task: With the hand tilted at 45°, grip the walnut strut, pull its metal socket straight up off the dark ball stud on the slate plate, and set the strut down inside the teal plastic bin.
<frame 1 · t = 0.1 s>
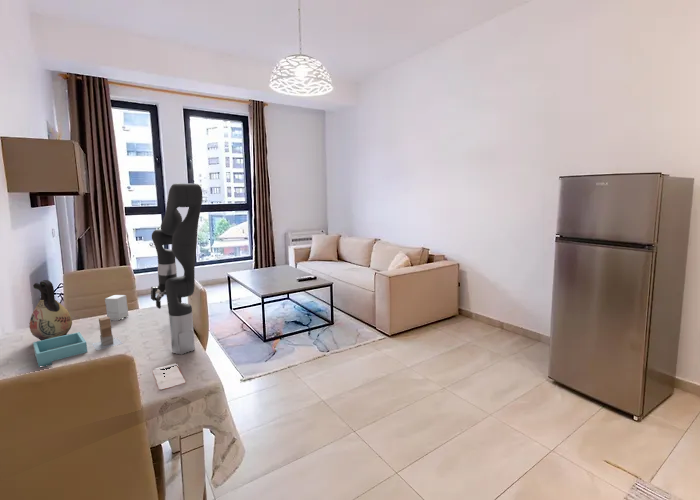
hand: (169, 306, 164), 17 cm above the table, tool pointing down, fingers open, 8 cm apart
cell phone: (168, 378, 134), on the table
teal bin: (61, 355, 152), on the table
walnut strut: (107, 343, 160), point 1 cm above the table, touching stud plate
ceramic jug: (54, 340, 168), on the table
stud plate: (107, 346, 160), on the table
supplement box: (118, 318, 197), on the table
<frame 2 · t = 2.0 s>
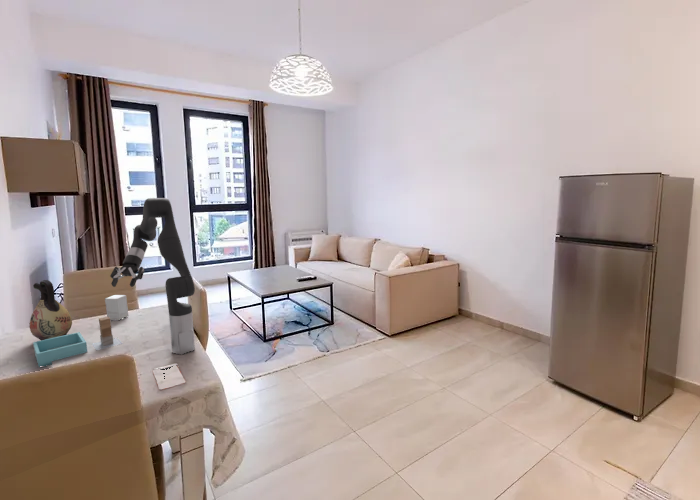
hand: (122, 286, 170), 25 cm above the table, tool tilted 45°, fingers open, 8 cm apart
nothing on the table moved.
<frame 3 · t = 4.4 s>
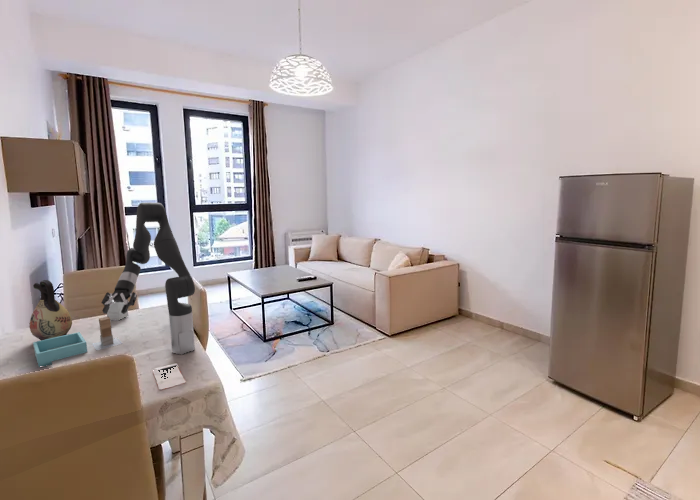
hand: (113, 313, 164), 14 cm above the table, tool tilted 45°, fingers open, 8 cm apart
nothing on the table moved.
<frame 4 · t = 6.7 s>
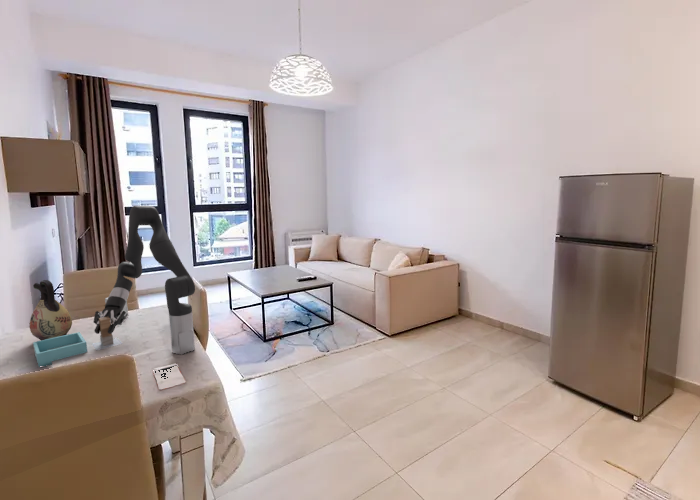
hand: (103, 332, 157), 7 cm above the table, tool tilted 45°, fingers closed on walnut strut, 5 cm apart
walnut strut: (107, 343, 160), point 2 cm above the table, touching gripper, stud plate
everything else where it was.
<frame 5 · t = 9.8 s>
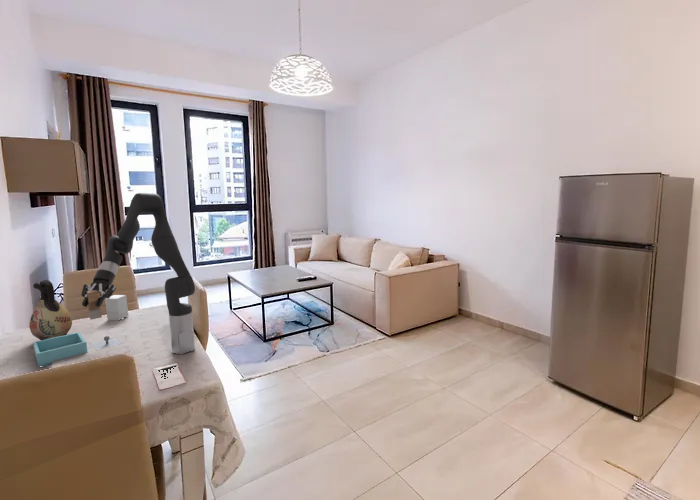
hand: (90, 306, 154), 20 cm above the table, tool tilted 45°, fingers closed on walnut strut, 5 cm apart
walnut strut: (95, 317, 157), point 14 cm above the table, touching gripper
everything else where it was.
when the fingers open (9 cm above the table, at t = 13.2 s): walnut strut drops 2 cm, resting on teal bin.
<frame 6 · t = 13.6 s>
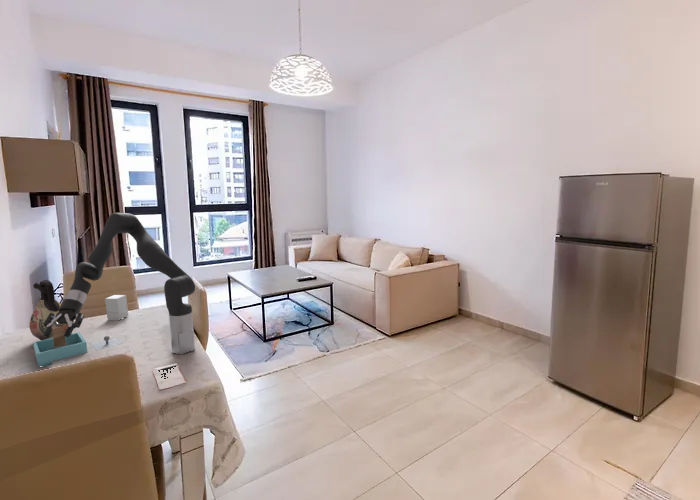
hand: (56, 336, 149), 9 cm above the table, tool tilted 45°, fingers open, 8 cm apart
walnut strut: (61, 352, 152), point 1 cm above the table, touching teal bin
everything else where it was.
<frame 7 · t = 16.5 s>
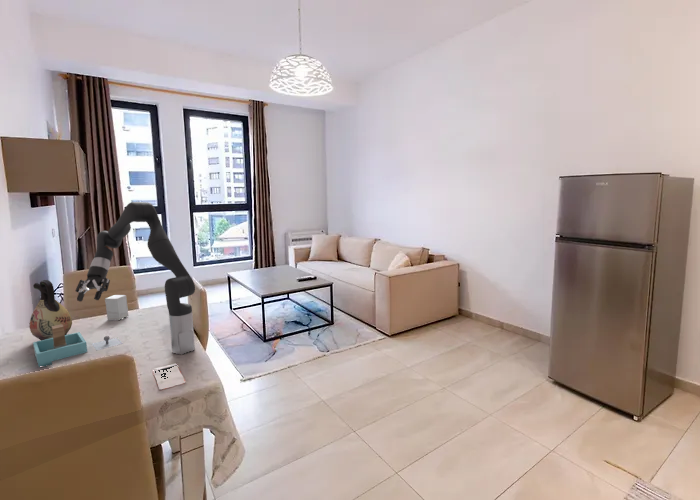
hand: (87, 300, 162), 20 cm above the table, tool tilted 40°, fingers open, 8 cm apart
nothing on the table moved.
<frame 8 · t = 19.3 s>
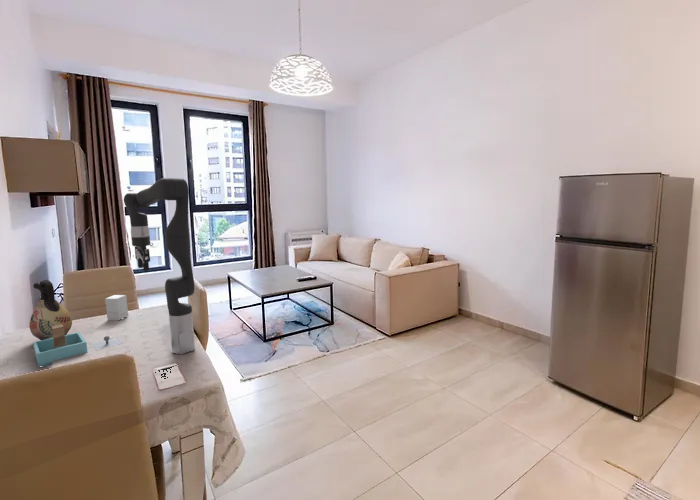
hand: (143, 269, 169), 33 cm above the table, tool pointing down, fingers open, 8 cm apart
nothing on the table moved.
at the end: walnut strut inside the target area on the teal bin (0.2 cm from its centre), point 1.0 cm above the teal bin's base; the gripper is holding nothing; walnut strut moved 16.6 cm from its start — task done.
